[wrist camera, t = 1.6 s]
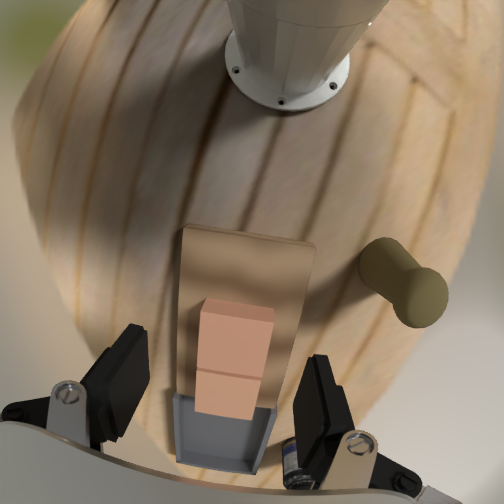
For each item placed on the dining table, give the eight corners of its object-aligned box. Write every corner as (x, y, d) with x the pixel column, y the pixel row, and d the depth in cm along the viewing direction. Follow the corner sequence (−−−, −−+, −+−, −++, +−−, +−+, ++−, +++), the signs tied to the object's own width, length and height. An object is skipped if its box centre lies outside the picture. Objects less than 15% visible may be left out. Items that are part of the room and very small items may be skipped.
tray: (178, 383, 36) (172, 397, 33) (276, 398, 36) (277, 414, 33) (179, 449, 41) (176, 462, 38) (256, 462, 41) (255, 474, 38)
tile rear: (201, 354, 32) (196, 370, 29) (261, 364, 32) (261, 380, 29) (199, 395, 34) (194, 411, 31) (252, 403, 34) (251, 420, 31)
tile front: (206, 297, 30) (200, 311, 27) (273, 308, 30) (274, 322, 27) (201, 351, 32) (196, 367, 29) (262, 360, 32) (262, 377, 29)
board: (188, 223, 30) (183, 227, 28) (313, 242, 30) (316, 248, 28) (180, 383, 36) (176, 393, 34) (274, 398, 36) (274, 408, 34)
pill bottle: (315, 453, 40) (321, 504, 29) (280, 454, 40) (281, 506, 29) (321, 433, 38) (331, 488, 27) (283, 434, 38) (285, 491, 28)
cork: (357, 291, 31) (393, 345, 20) (358, 239, 29) (402, 276, 19) (404, 285, 30) (451, 332, 20) (407, 235, 29) (463, 266, 18)
